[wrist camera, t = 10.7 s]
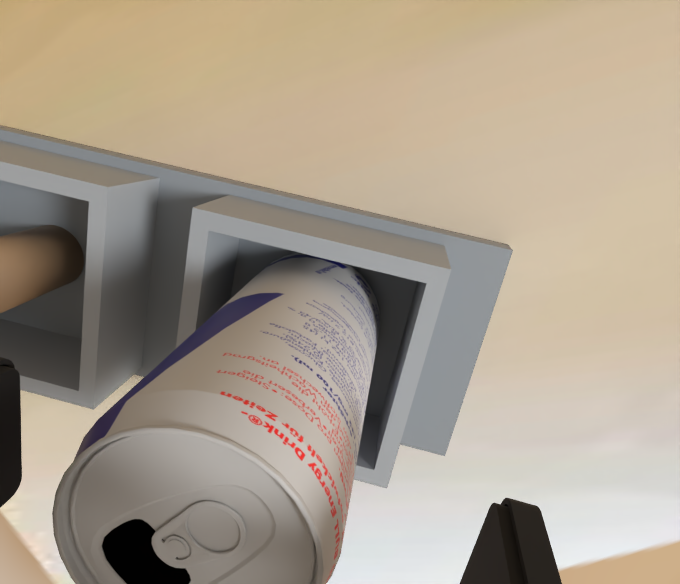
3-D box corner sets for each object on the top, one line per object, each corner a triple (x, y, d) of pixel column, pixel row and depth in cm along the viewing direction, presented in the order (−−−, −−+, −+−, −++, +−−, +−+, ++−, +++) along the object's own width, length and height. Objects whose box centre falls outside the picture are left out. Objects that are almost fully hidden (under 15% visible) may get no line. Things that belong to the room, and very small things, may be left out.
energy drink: (221, 292, 20) (-18, 492, 9) (333, 223, 19) (213, 359, 8) (295, 398, 21) (162, 697, 10) (406, 340, 20) (396, 613, 9)
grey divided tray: (-65, 309, 24) (-214, 364, 18) (-74, 107, 21) (-255, 98, 15) (443, 442, 22) (453, 548, 17) (507, 244, 19) (547, 290, 14)
